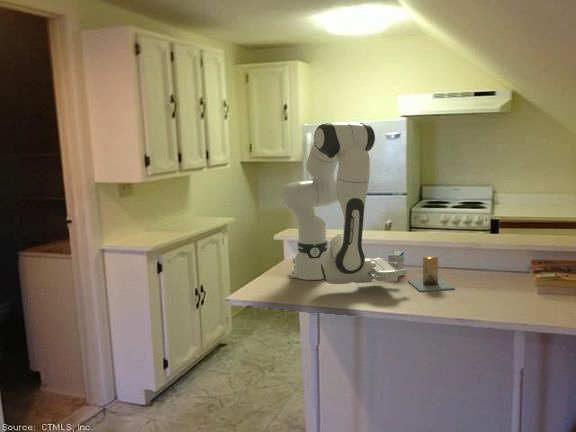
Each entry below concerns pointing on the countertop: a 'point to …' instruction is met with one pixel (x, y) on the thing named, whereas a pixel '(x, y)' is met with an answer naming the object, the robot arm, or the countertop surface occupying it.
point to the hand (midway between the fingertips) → (402, 268)
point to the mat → (421, 287)
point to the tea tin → (430, 270)
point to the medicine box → (397, 259)
